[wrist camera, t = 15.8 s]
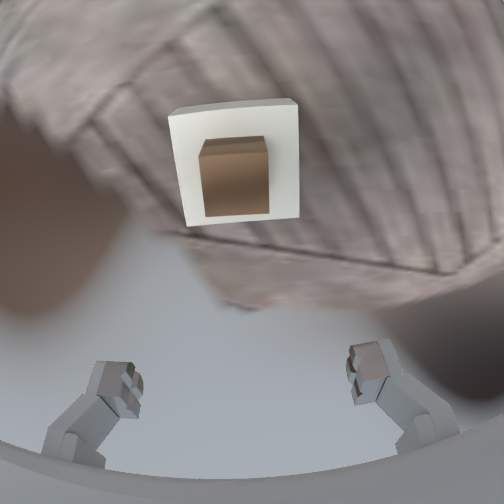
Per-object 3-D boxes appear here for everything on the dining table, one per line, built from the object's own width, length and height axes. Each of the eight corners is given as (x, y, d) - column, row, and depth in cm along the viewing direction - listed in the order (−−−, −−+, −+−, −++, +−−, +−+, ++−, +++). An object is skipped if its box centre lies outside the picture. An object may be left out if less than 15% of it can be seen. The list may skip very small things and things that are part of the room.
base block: (178, 107, 29) (167, 116, 25) (289, 97, 29) (297, 104, 25) (193, 204, 35) (187, 226, 31) (291, 196, 35) (299, 217, 31)
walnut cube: (205, 139, 26) (198, 156, 22) (263, 135, 26) (268, 152, 22) (210, 191, 29) (205, 217, 25) (265, 188, 29) (269, 213, 25)
